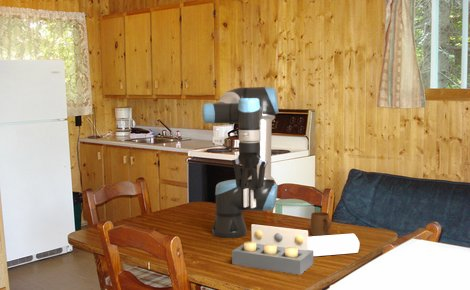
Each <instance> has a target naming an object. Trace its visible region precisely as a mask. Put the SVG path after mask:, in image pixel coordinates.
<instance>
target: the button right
mask: <svg viewBox="0 0 470 290" xmlns="http://www.w3.org/2000/svg"><path fill="white" fill-rule="evenodd" d="M285 257H289V258H298V248H295V247H287V248H285Z"/></svg>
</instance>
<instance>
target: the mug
mask: <svg viewBox="0 0 470 290" xmlns="http://www.w3.org/2000/svg"><path fill="white" fill-rule="evenodd" d="M331 226H332V220H331V219H330V216H329V213H328V212H323V211H322V212H321V211H318V212H316V211H315V212H312V213H311V215H310V231H311V232H310V234H311V237H313V236H327V235H329V234H330V228H331Z"/></svg>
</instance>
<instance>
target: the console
mask: <svg viewBox="0 0 470 290" xmlns="http://www.w3.org/2000/svg"><path fill="white" fill-rule="evenodd" d="M308 237H309V230H304V229H296V228H288V227H281V226H271V225H261V224H254V223H252V224H251V242H256V252H247V251H244V243H243V244H241V245H240V246H238V247H236V248H234V249H233V250H232V251H231V261H232V262H231V264H232V265H235V266H241V267H248V268H252V269H259V270H260V269H261V270H266V271H271V270H272V271H273V272H278V271H279V272H280V273H284V272H285V273H286V274H290V273H291V275H296V274H298V275H297V276H301V275H302V274H303V273H305V272H306V271H307V270H309V268H310V267H312V266H313V265H314V256H313V250H308ZM267 244H274V245H276V246H277V254H276V255H268V254H264V245H267ZM287 247H295V248H298V258H289V257H285V248H287ZM304 271H305V272H304ZM285 273H284V274H285Z"/></svg>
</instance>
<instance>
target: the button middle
mask: <svg viewBox="0 0 470 290" xmlns="http://www.w3.org/2000/svg"><path fill="white" fill-rule="evenodd" d="M264 254H268V255H276V254H277V246H276V245H274V244H267V245H264Z"/></svg>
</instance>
